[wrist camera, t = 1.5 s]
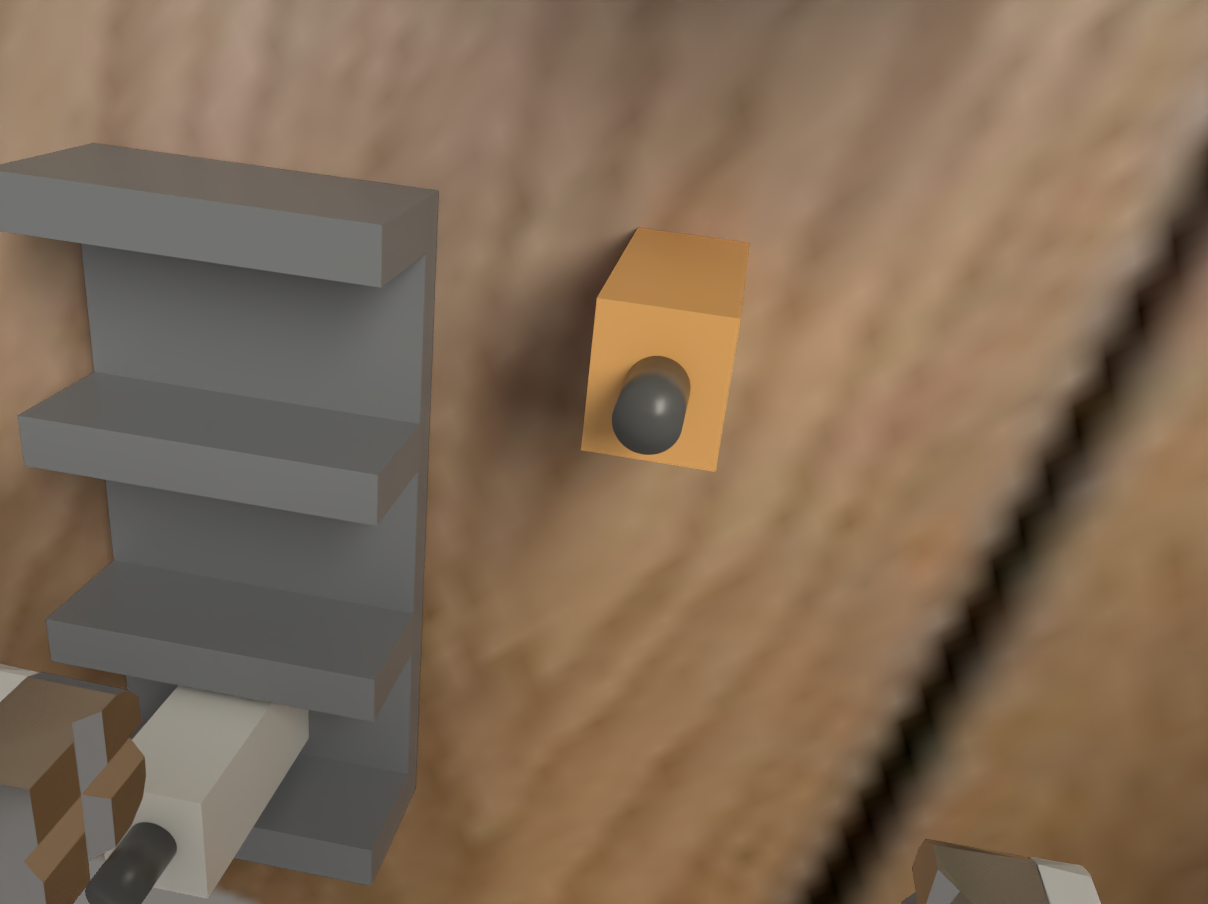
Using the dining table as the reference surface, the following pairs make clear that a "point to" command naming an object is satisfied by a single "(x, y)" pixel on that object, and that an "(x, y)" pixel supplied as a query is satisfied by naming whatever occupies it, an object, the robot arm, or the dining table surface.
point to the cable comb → (253, 460)
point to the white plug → (199, 792)
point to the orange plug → (665, 349)
